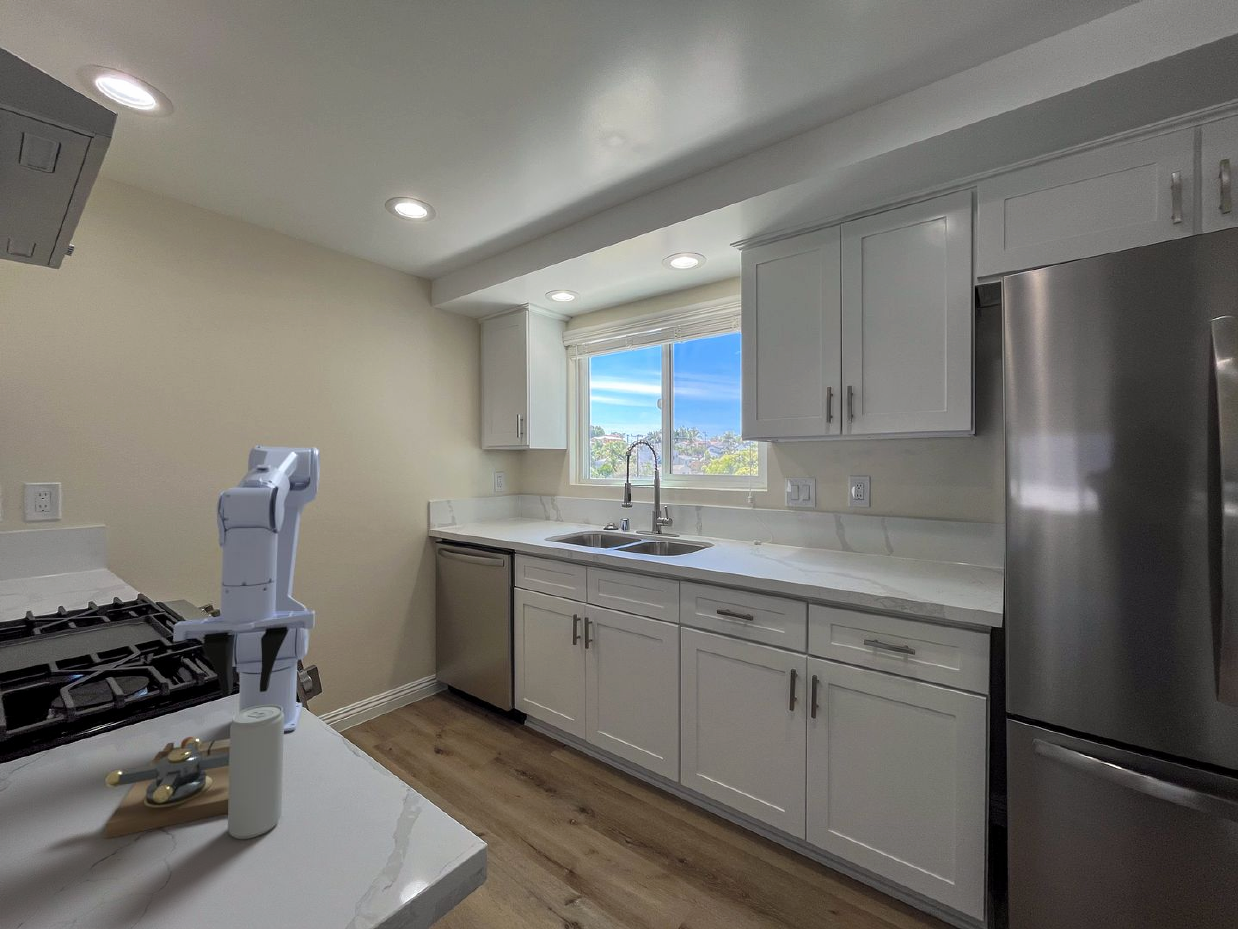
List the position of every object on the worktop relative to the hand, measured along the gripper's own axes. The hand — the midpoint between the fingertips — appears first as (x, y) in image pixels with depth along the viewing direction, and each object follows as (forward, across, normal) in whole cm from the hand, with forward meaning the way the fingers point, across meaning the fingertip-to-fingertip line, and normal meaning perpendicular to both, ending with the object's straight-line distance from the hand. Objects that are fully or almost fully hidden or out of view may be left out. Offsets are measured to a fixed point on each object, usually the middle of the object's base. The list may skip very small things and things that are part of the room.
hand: (246, 691), depth 67 cm
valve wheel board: (+10, -4, 0) cm, 11 cm away
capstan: (+8, -6, -4) cm, 11 cm away
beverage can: (+11, +3, -12) cm, 16 cm away
